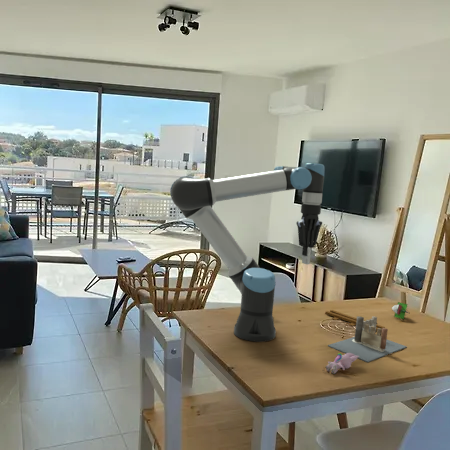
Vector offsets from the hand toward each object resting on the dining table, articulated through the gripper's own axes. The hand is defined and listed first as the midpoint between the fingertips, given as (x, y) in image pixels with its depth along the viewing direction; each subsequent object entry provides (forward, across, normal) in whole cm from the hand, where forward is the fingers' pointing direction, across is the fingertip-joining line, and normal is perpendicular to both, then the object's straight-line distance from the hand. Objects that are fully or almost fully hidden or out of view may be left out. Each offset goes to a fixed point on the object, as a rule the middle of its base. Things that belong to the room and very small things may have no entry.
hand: (305, 263), depth 185 cm
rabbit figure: (+25, +21, +36) cm, 48 cm away
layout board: (+24, -3, +29) cm, 38 cm away
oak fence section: (+23, -4, +31) cm, 39 cm away
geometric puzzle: (+25, -47, +16) cm, 56 cm away
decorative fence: (+25, -22, +10) cm, 35 cm away
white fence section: (+24, -8, +25) cm, 35 cm away
